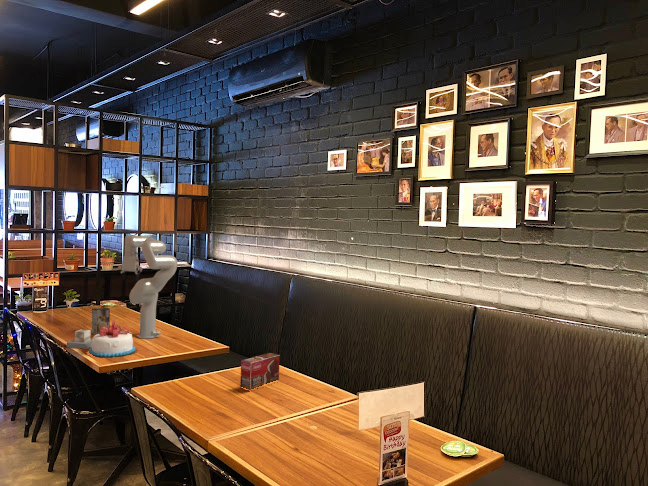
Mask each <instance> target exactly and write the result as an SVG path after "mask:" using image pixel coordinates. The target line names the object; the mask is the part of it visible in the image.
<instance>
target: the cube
mask: <svg viewBox="0 0 648 486" xmlns="http://www.w3.org/2000/svg"><path fill="white" fill-rule="evenodd" d="M91 335H92V329H79V330H75V331H74V340H75V342H87V341H90V339H91Z"/></svg>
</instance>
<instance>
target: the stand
mask: <svg viewBox="0 0 648 486" xmlns="http://www.w3.org/2000/svg"><path fill="white" fill-rule="evenodd" d="M91 344H92V338H90V341H87V342H75V339H72V340H70V341H67V342H66V348H68V349H78V348H82V349H81V350H86V349H87V350H88V349H90V348H92V345H91ZM89 347H90V348H89Z"/></svg>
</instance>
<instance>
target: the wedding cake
mask: <svg viewBox="0 0 648 486" xmlns="http://www.w3.org/2000/svg"><path fill="white" fill-rule="evenodd" d="M115 323H116V321H115V320H111V325H110V327H102V328H101V330H100V331H99V334H94V336H93V337H92V338H91V339H92V344H91V345H92V347H90V348H88V350H89V353H90V354H92V355H93V356H95V357H94V358H99V359H114V358H124V357H129V356H132V355H135V354H137V353H138V352H139V351H140V350H139V349H138V348H137V347H135V345H134V340H133V339H134V338H133V334H132V333H129V331H130V328H129V327H128V326H124V327H123V328H122V326H121V325H120V324H115ZM124 330H127V331H126V332H125V331H124Z"/></svg>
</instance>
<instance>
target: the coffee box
mask: <svg viewBox="0 0 648 486" xmlns="http://www.w3.org/2000/svg"><path fill="white" fill-rule="evenodd" d="M110 309H111V308H109V307H106V306H105V307H104V306H103V307H96V308H95V307H94V308H92V309H91V334H93V333H94V335H97V334H99V331H100V330H101V328H102V327H110V326H111V324H110V321H111V319H110V318H111V317H110V316H111V315H110V312H111V311H110Z"/></svg>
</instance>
